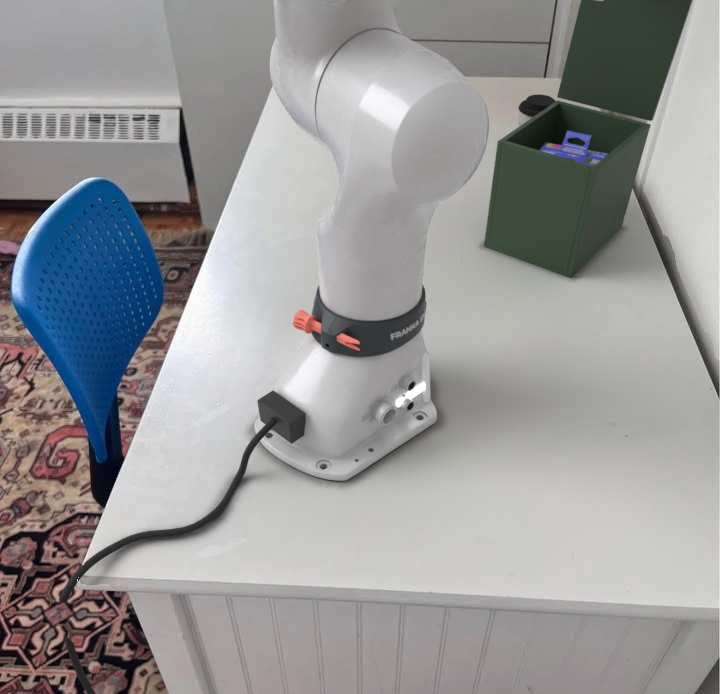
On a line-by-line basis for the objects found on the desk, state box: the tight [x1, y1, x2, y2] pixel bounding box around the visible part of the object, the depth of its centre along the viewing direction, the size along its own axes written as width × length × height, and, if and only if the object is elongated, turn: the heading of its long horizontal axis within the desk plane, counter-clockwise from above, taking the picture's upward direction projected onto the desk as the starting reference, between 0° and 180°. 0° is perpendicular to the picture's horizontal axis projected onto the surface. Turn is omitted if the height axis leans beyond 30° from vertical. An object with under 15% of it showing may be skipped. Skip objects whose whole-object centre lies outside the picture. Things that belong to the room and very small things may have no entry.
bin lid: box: [556, 0, 693, 122], centre depth 98 cm, size 18×15×1 cm
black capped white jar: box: [517, 94, 557, 127], centre depth 126 cm, size 7×7×10 cm
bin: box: [483, 100, 652, 278], centre depth 106 cm, size 18×15×16 cm
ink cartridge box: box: [539, 131, 608, 167], centre depth 105 cm, size 10×6×14 cm, turn 61°
